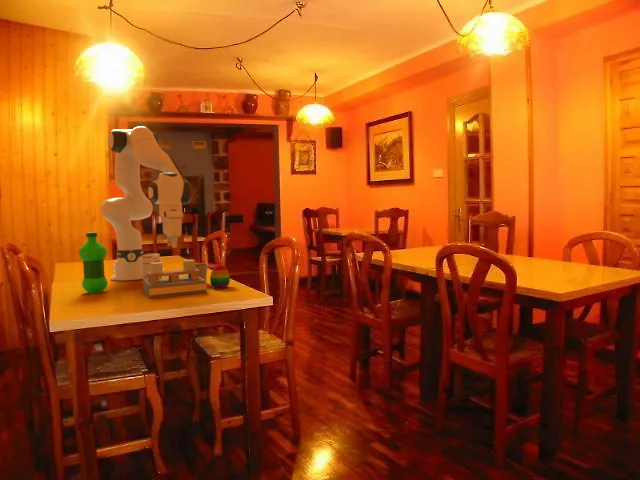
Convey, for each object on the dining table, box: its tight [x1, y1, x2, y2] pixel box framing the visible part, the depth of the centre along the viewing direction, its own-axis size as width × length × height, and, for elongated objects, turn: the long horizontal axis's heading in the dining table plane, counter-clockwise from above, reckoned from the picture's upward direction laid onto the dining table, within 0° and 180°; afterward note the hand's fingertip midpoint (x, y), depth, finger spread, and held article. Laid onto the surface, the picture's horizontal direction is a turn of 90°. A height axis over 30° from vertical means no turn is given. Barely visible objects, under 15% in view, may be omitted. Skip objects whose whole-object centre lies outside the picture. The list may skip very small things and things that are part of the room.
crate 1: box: [150, 261, 164, 274], centre depth 217 cm, size 4×4×4 cm
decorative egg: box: [209, 263, 231, 290], centre depth 228 cm, size 8×8×10 cm
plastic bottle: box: [78, 231, 108, 295], centre depth 224 cm, size 10×10×25 cm
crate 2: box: [182, 259, 196, 271], centre depth 222 cm, size 4×4×4 cm
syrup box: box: [142, 253, 162, 285], centre depth 233 cm, size 6×6×14 cm
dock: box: [142, 275, 208, 299], centre depth 220 cm, size 17×22×5 cm
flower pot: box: [195, 263, 209, 281], centre depth 238 cm, size 9×9×9 cm
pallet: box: [147, 269, 200, 283], centre depth 220 cm, size 6×20×4 cm, turn 116°
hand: (172, 246), depth 219 cm, fingers open, 8 cm apart
